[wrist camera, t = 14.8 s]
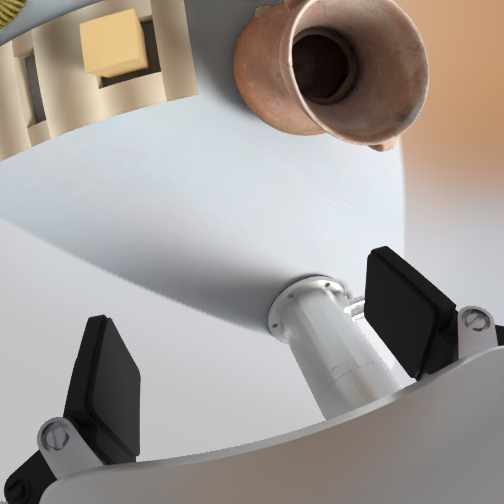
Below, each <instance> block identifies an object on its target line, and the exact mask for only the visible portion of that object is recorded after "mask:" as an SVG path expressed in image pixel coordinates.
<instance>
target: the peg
mask: <svg viewBox="0 0 504 504" xmlns="http://www.w3.org/2000/svg"><path fill="white" fill-rule="evenodd" d="M79 25H80V35H81V44H82V52H83V60H84V67H85V73H88V74H93V75H98V76H103V77H107V78H113V77H117V76H120V75H124V74H128V73H132V72H135V71H140V70H144V69H148V68H149V66H148V59H147V51H146V44H145V36H144V32H143V29H142V27H141V25H140V22H139V20H138V18H137V15H136V13H135V10H134V9H130V10H126V11H122V12H118V13H114V14H111V15H107V16H104V17H100V18H97V19H94V20H91V21H88V22H85V23H82V24H79Z"/></svg>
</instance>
